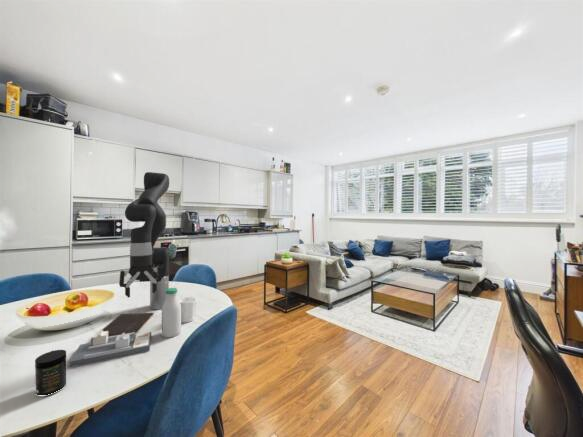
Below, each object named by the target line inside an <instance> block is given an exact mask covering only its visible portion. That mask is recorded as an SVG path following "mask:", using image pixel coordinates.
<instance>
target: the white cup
mask: <svg viewBox="0 0 583 437" xmlns="http://www.w3.org/2000/svg"><path fill="white" fill-rule="evenodd" d="M178 300H179V302H180V305H181V323H190V322H192V321H194V320H195V317H196V315H195V314H196V303H197V302H196V301H197V299H196V297H192V296H190V297H189V296H188V297H183V298H179V299H178Z"/></svg>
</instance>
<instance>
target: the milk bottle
mask: <svg viewBox="0 0 583 437" xmlns="http://www.w3.org/2000/svg"><path fill="white" fill-rule="evenodd" d="M179 300H180V299H179V298H178V288H177V287H169V289H166V299H165V302H164V304H163V307H162V309H161V336H162V337H163V338H172V337H173V338H174V337H176V336H179V335H180V333H182V332H181V331H182V322H181V305H180V302H179Z"/></svg>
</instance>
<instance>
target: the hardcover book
mask: <svg viewBox="0 0 583 437" xmlns="http://www.w3.org/2000/svg"><path fill="white" fill-rule="evenodd" d="M154 314H155V312H141V313H140V312H139V313H138V312H137V313H135V312H134V313H121V314H119V315H118V316H117V317H116V318H114V319H113V320H112V321H110V323H108V324H107V325H106V326H105V327H104V328H102V329H101V330H103V332H104V331H108V337H110V336H116V335H122V333H125V334H128V333H133V332H135V335H136V334H140V331H141V330H142V329H143V328H144V327H145V326H146V325H147V323H149V321H150V320H151V319H152V318H153V317H154ZM90 340H91V341H90V343H92V342H93V337H92V338H91V339H90Z"/></svg>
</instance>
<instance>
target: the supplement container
mask: <svg viewBox="0 0 583 437" xmlns="http://www.w3.org/2000/svg"><path fill="white" fill-rule="evenodd" d="M34 367H35V371H34V372H35V395H36V394H37V395H48V394H51V393H54V392H56V391H58V390H60V389H62V388H63V387H64V386H65V387H66V385H67V351H66V350H65V349H55V350H51V351H48V352H45V353H43V354H41V355H38V356H37V357H36V358H35V360H34ZM65 387H64V388H65ZM64 388H63V389H64ZM63 389H62V390H63ZM60 391H61V390H60ZM37 395H36V396H37Z"/></svg>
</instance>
